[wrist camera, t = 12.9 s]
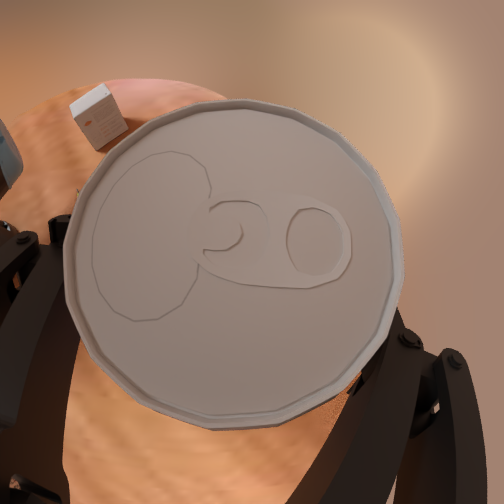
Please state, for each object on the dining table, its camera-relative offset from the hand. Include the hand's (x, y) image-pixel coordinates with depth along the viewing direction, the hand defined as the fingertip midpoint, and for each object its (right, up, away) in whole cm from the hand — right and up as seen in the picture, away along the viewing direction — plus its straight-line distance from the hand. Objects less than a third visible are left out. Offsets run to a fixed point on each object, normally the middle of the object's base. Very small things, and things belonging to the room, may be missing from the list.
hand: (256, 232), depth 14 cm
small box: (-29, +23, +32) cm, 49 cm away
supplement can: (-1, -5, +6) cm, 8 cm away
